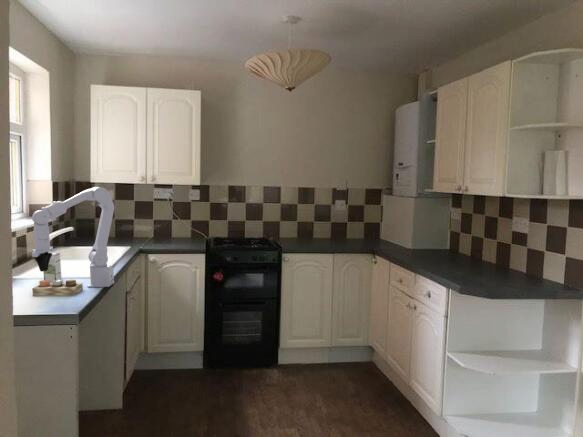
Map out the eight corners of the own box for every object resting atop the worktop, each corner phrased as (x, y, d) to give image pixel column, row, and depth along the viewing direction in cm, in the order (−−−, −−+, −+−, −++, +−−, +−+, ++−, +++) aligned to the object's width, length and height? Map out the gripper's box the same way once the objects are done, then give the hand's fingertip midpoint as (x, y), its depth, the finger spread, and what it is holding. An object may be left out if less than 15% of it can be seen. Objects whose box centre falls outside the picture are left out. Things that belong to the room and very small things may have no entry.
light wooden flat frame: (82, 289, 212) (82, 282, 211) (74, 295, 203) (73, 288, 202) (43, 289, 211) (42, 283, 211) (32, 295, 202) (32, 288, 202)
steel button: (64, 285, 209) (64, 279, 209) (60, 287, 205) (60, 281, 205) (55, 285, 209) (55, 279, 208) (51, 287, 205) (50, 282, 204)
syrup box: (62, 282, 225) (60, 251, 223) (56, 285, 219) (54, 253, 217) (49, 282, 225) (47, 251, 223) (43, 285, 219) (41, 253, 217)
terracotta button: (51, 285, 209) (51, 279, 208) (47, 287, 205) (47, 282, 204) (42, 285, 209) (42, 279, 208) (37, 287, 205) (37, 282, 204)
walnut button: (77, 285, 209) (77, 279, 209) (73, 287, 205) (73, 281, 205) (68, 285, 209) (68, 279, 209) (64, 287, 205) (63, 281, 205)
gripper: (40, 236, 211) (42, 267, 213) (23, 241, 197) (25, 274, 199) (57, 236, 212) (58, 267, 213) (40, 241, 197) (42, 274, 199)
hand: (43, 270), depth 206 cm, fingers closed
